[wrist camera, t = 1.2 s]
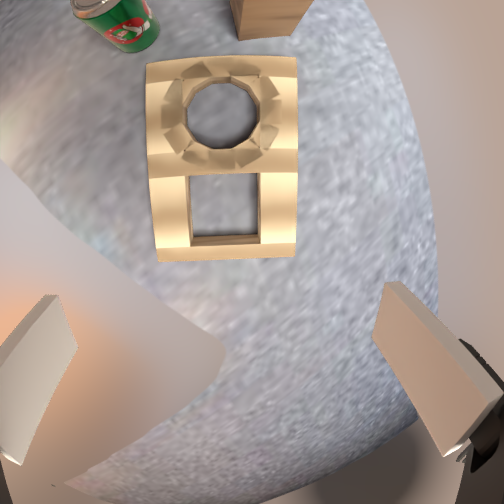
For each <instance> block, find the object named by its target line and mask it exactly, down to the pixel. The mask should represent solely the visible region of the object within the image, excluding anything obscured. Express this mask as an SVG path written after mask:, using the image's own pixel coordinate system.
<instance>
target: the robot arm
mask: <svg viewBox="0 0 504 504" xmlns="http://www.w3.org/2000/svg"><path fill="white" fill-rule="evenodd" d="M372 339H373V341H374V342H375V344H376V345H377V347H378V348H379V350H380V351H381V353H382V355H383V356H384V358H385V359H386V361H387V362H388V364H389V366H390V367H391V369H392V370H393V372H394V374H395V375H396V377H397V378H398V380H399V382H400V383H401V385H402V387H403V388H404V390H405V392H406V393H407V395H408V397H409V398H410V400H411V402H412V403H413V405H414V407H415V408H416V410H417V412H418V414H419V415H420V417H421V419H422V421H423V422H424V424H425V426H426V428H427V429H428V431H429V433H430V435H431V436H432V438H433V440H434V442H435V444H436V446H437V447H438V449H439V451H440V453H441V455H442V457H444V456H446V455H448V454H450V453H451V452H453V451H455V450H457V449H459V448H460V447H461V446H462V445H463V444H464V443H465V441H466V440H467V439H468V438H469V439H470V440H471V444H470V445H469V446H468V447H467V448H466V449H465V450H464V451H463V452H462V453H461V454H460V455H459V456H458V458H457V460H456V462H459V461H460V460H461V459H462V458H463V457H464V456H465V455H466V454H467V456H466V458H465V459H464V460H463V461H462V462H463V463H465V466H464V471H463V475H462V480H461V484H460V488H459V491H458V495H457V499H456V502H455V504H504V382H503V381H502V380H501V378H500V377H499V376H498V375H497V374H496V373H495V371H494V370H493V369H492V368H491V367H490V366H489V364H486V361H485V360H484V359H483V358H482V357H480V354H479V353H478V352H477V351H476V350H475V349H474V348H473V347H472V346H471V345H470V344H468V343H467V342H465V341H463V340H462V339H457V338H456V337H455V336H454V334H453V333H452V332H450V330H449V329H448V328H447V327H446V326H445V325H444V324H443V323H442V322H441V321H440V320H439V319H438V318H437V317H436V316H435V315H434V314H433V313H432V312H431V311H430V310H429V309H428V308H427V307H426V306H425V305H424V304H423V303H422V302H421V301H420V300H419V299H418V298H417V297H416V296H415V295H414V294H413V293H412V292H411V291H410V290H409V289H408V288H407V287H406V286H405V285H404V284H403V283H401V282H400V281H396V282H387V283H385V284H384V289H383V293H382V298H381V302H380V306H379V311H378V315H377V319H376V322H375V326H374V330H373V334H372ZM77 349H78V346H77V343H76V341H75V339H74V336H73V334H72V331H71V329H70V326H69V323H68V321H67V318H66V315H65V313H64V310H63V307H62V304H61V301H60V298H59V295H45V296H44V297H43V298H42V299H41V300H40V301H39V302H38V303H37V304H36V305H35V306H34V307H33V309H32V310H31V311H30V312H29V313H28V314H27V315H26V316H25V318H24V319H23V320H22V321H21V322H20V323H19V325H18V326H17V327H16V328H15V329H14V330H13V332H12V333H11V334H10V335H9V336H8V338H7V339H6V340H5V341H4V343H3V344H2V345H1V346H0V452H1V453H2V454H3V455H4V456H5V457H6V458H7V459H9V460H11V461H13V462H15V463H17V464H19V465H21V466H22V464H23V461H24V458H25V456H26V453H27V451H28V448H29V446H30V443H31V441H32V438H33V436H34V434H35V431H36V429H37V427H38V425H39V423H40V420H41V418H42V416H43V414H44V412H45V410H46V408H47V405H48V404H49V401H50V399H51V397H52V395H53V393H54V391H55V389H56V388H57V385H58V384H59V382H60V380H61V378H62V376H63V374H64V372H65V370H66V369H67V367H68V365H69V363H70V361H71V360H72V358H73V356H74V354H75V352H76V351H77ZM0 504H13V503H12V500H11V497H10V494H9V491H8V487H7V484H6V480H5V477H4V473H3V469H2V465H1V461H0Z"/></svg>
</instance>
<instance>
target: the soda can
mask: <svg viewBox="0 0 504 504" xmlns="http://www.w3.org/2000/svg"><path fill="white" fill-rule="evenodd" d="M70 3H71V6H72V11H73V14H74V15H75V16H76V17H77V18H78V19H80V20H81V21H82V22H84V23H85V24H87V25H88V26H89V27H91V28H92V29H94V30H95V31H96V32H98V33H99V34H100V35H102V36H103V37H104V38H106V39H107V40H108V41H110V42H111V43H112V44H114V45H115V46H116V47H117V48H119V49H120V50H122V51H124V52H128V53H133V52H138V51H141V50H143V49H145V48H147V47H148V46H149V45H151V44H152V43H153V42H154V41H155V39H156V38H157V36H158V33H159V29H160V26H159V22H158V20H157V19H156V17H155V15H154V14H153V12H152V11H151V9H150V7H149V6H148V4H147V3H146V1H145V0H70Z"/></svg>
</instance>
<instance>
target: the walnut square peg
mask: <svg viewBox="0 0 504 504" xmlns="http://www.w3.org/2000/svg"><path fill="white" fill-rule="evenodd" d="M313 1H314V0H230V6H231V10H232V14H233V18H234V23H235V27H236V31H237V36H238V40H239V41H242V40H250V39H258V38H267V37H279V36H290V35H291V34H292V32H293V31H294V29H295V28H296V26H297V25H298V23H299V21H300V20H301V18H302V17H303V15H304V14H305V12H306V11H307V9H308V8H309V7H310V5H311V4H312V2H313Z"/></svg>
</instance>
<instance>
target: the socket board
mask: <svg viewBox="0 0 504 504" xmlns="http://www.w3.org/2000/svg"><path fill="white" fill-rule="evenodd" d="M218 83H232V84H234V85H236V86H238V87H240V88H242V89H244V90H246V91H247V92H248V93H249V95H250V96H251V98H252V100H253V101H254V103H255V104H256V106H257V124H256V126H255V127H254V129H253V131H252V133H251V134H250V136H249V138H248V139H247V140H245V141H243V142H242V143H240V144H238V145H237V146H235V147H233V148H227V149H212V148H210V147H208V146H206V145H204V144H202V143H200V142H198V141H197V140H196V139H195V137H194V136H193V134H192V133H191V131H190V130H189V128H188V126H187V108H188V106H189V105H190V103H191V101H192V99H193V98H194V96H195V94H196V93H197V92H199V91H201V90H202V89H204V88H206V87H207V86H209V85H211V84H218ZM146 138H147V159H148V175H149V187H150V199H151V209H152V218H153V227H154V235H155V243H156V250H157V257H158V262H171V261H197V260H222V259H246V258H269V257H292V256H295V241H296V215H297V174H298V100H297V62H296V58H295V57H281V56H255V55H235V56H209V57H195V58H184V59H175V60H167V61H160V62H153V63H147V64H146ZM231 173H257V190H258V234H253V235H227V236H204V237H193V226H192V212H191V197H190V180H189V176H191V175H208V174H231Z"/></svg>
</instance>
